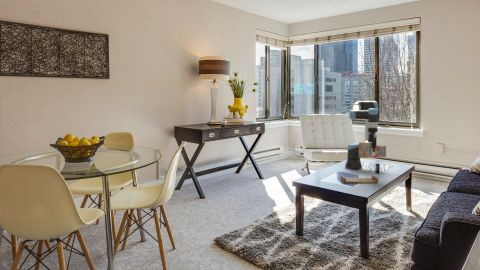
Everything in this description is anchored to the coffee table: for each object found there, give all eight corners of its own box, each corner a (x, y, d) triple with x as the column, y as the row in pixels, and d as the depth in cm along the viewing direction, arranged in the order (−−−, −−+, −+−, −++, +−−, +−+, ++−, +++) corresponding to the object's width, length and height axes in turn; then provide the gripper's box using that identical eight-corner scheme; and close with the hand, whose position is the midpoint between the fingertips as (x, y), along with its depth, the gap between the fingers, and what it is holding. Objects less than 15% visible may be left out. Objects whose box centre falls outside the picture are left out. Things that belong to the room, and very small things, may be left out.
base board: (340, 179, 278) (340, 174, 278) (373, 179, 276) (373, 175, 275) (343, 183, 266) (344, 178, 266) (378, 183, 264) (378, 178, 263)
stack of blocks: (381, 155, 286) (382, 141, 285) (386, 156, 280) (386, 142, 279) (358, 156, 282) (358, 142, 281) (362, 158, 276) (362, 143, 275)
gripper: (364, 126, 289) (363, 152, 291) (371, 128, 269) (370, 157, 271) (373, 126, 288) (372, 152, 291) (381, 128, 268) (380, 157, 271)
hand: (371, 154), depth 281 cm, fingers closed on stack of blocks, 7 cm apart
